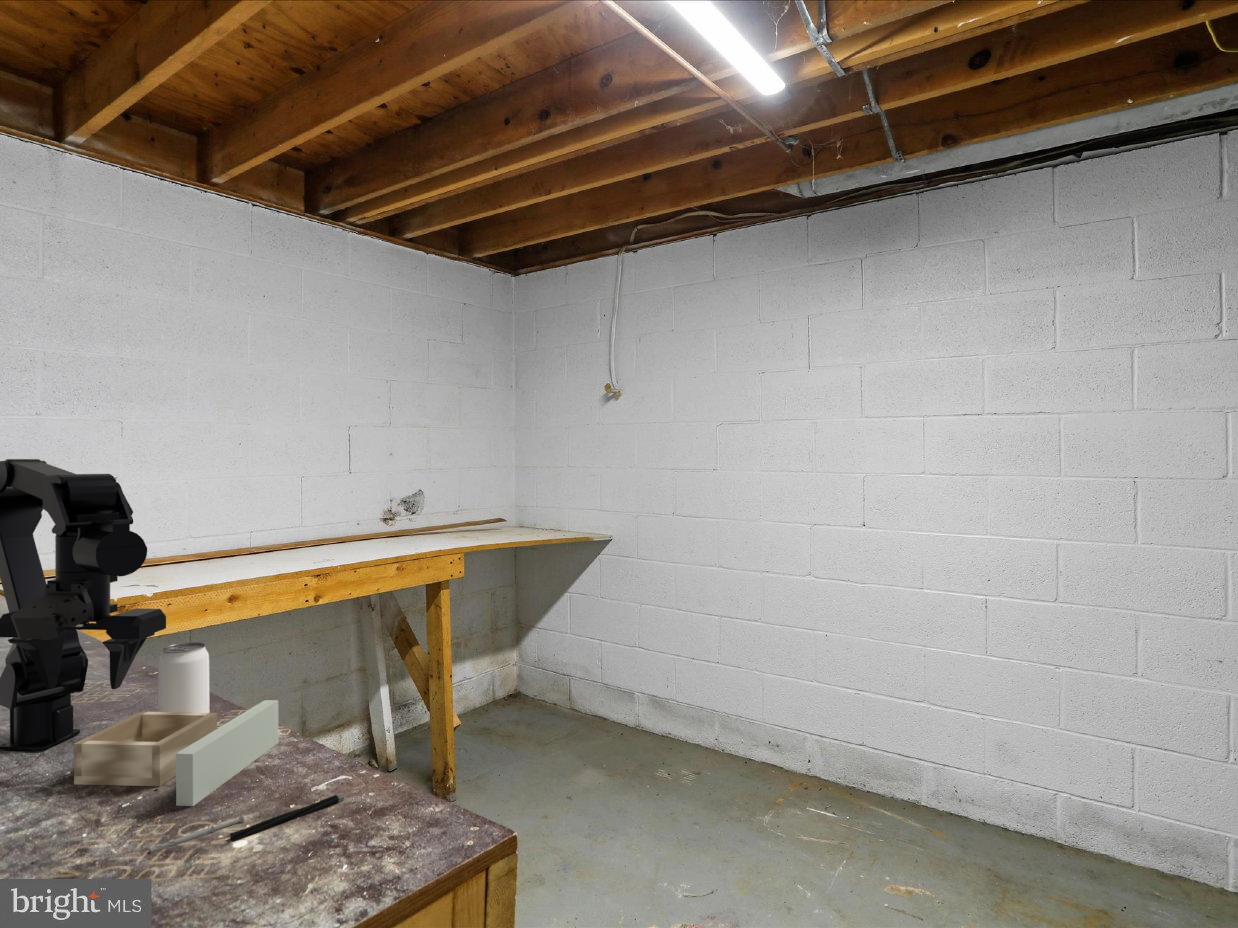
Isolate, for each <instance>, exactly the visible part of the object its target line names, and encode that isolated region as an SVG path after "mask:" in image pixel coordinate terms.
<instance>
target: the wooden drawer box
mask: <svg viewBox="0 0 1238 928" xmlns="http://www.w3.org/2000/svg"><path fill="white" fill-rule="evenodd" d="M216 729H218V712H209V713H190V712H158V711H139V712H137V713H135V714H133V715H131V716H128V717H126V718H124V719H122V720H121V721H119V722H116V723H114V724H112V725H110V726H108V727H106V728H103V729H101V730H99V731H97V732H95V733H93V734H91V735H89V736H87V737H85V738H83V739H81V740H78V741H77V742H74V743H73V773H74V774H73V785H87V786H88V785H89V786H90V785H91V786H93V785H94V786H122V787H123V786H125V787H126V786H127V787H129V786H132V787H133V786H134V787H135V786H136V787H162V786H163V785H165V784H166V783H168V782H169V781H170V780H172V779H174V778H176V753H178V752H180V751H181V750H183V749H185V748H186V747H188V746H190V745H191V744H193V743H195V742H196V741H198V740H200V739H201V738H203V737H204V736H206V735H208V734H209V733H211V732H213V731H214V730H216Z"/></svg>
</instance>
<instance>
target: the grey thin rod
mask: <svg viewBox="0 0 1238 928" xmlns="http://www.w3.org/2000/svg"><path fill="white" fill-rule="evenodd" d="M239 823H240V824H241V823H244V824H245V817H244V814H241V815H239V817H238V818H236V819H233V820H231V821H230V820H229V821H227V822H224V823H220V824H218V825H216V826H214V825H211V826H210V827H209V828H205V829H202V830H199V831H196V832H193V833H190V834H187V835H185V836H181V837H179V838H175V839H170V840H169V841H167V842H165V843H159V844H156V845H155V846H152V847H150V848H149V852H150V854H152V853H155V852H158V851H160V850H164V849H168V848H170V847H173V846H176V845H179V844H182V843H185V842H187V841H191V840H193V839H197V838H200V837H201V836H202V837H203V836H205V835H209V834H211V833H215V832H216V831H219V830H221V829H225V828H227V827H231V826H233V825H237V824H239Z"/></svg>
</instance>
